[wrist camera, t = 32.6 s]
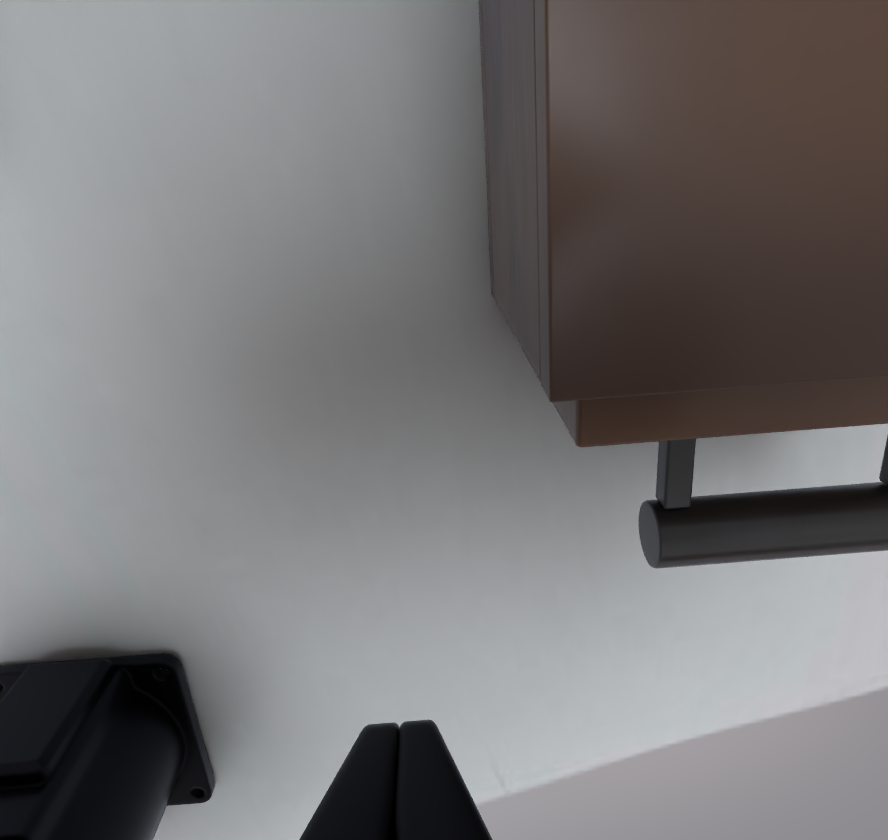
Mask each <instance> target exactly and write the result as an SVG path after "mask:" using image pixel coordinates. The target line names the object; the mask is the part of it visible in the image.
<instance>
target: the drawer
mask: <svg viewBox="0 0 888 840" xmlns="http://www.w3.org/2000/svg"><path fill="white" fill-rule="evenodd" d="M553 404H554V406H555V408H556V409H557V411H558V413H559V415H560V417H561V418H562V420H563V422H564V424H565V426H566V427H567V429H568V431H569V433H570V435H571V436H572V438H573V440H574V442H575V444H576V445H577V446H578V447H592V446H604V445H617V444H630V443H643V442H656V441H659V448H658V466H657V484H656V498H657V499H658V500H647V501H644V502H643V503H642V505H641V507H640V512H639V534H640V541H641V545H642V549H643V552H644V555H645V557H646V560H647V562H648V563H649V565H650V566H651V567H653V568H669V567H682V566H695V565H707V564H720V563H733V562H745V561H758V560H771V559H784V558H796V557H809V556H822V555H835V554H847V553H860V552H873V551H886V550H888V437H887V442H886V447H885V452H884V457H883V462H882V467H881V472H880V477H879V478H880V481H882V482H876V483H863V484H851V485H838V486H825V487H812V488H799V489H787V490H774V491H761V492H748V493H736V494H723V495H710V496H697V497H691V494H692V481H693V468H694V456H695V443H696V438H707V437H720V436H732V435H745V434H758V433H771V432H784V431H796V430H809V429H822V428H835V427H848V426H860V425H873V424H886V423H888V376H882V377H869V378H856V379H844V380H831V381H818V382H805V383H792V384H780V385H767V386H754V387H741V388H728V389H715V390H703V391H690V392H677V393H664V394H651V395H638V396H626V397H613V398H600V399H587V400H574V401H562V402H553Z"/></svg>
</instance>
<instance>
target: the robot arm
mask: <svg viewBox="0 0 888 840" xmlns="http://www.w3.org/2000/svg"><path fill="white" fill-rule="evenodd" d="M161 668H165V669H166V670H168V671H164V670H162V669H161ZM214 787H215V781H214V778H213V774H212V771H211V767H210V764H209V760H208V756H207V753H206V749H205V746H204V742H203V739H202V735H201V732H200V728H199V725H198V721H197V718H196V714H195V710H194V707H193V703H192V700H191V696H190V693H189V689H188V686H187V682H186V679H185V675H184V672H183V668H182V664H181V662H180V661H179V659H178V658H176V657H175V656H173V655H171V654H165V653H161V654H148V655H135V656H123V657H110V658H97V659H84V660H72V661H59V662H46V663H34V664H21V665H8V666H0V840H153V838H154V835H155V833H156V830H157V828H158V825H159V823H160V820H161V818H162V816H163V813H164V811H165V808H166V806H169V805H181V804H194V803H203V802H206V801H208V800H209V799H210V797H211V796H212V793H213V790H214ZM300 840H492V838H491V836H490V834H489V832H488V830H487V828H486V826H485V824H484V821H483V820H482V817H481V815H480V813H479V811H478V809H477V807H476V805H475V803H474V801H473V799H472V797H471V795H470V793H469V791H468V789H467V787H466V785H465V783H464V781H463V779H462V777H461V774H460V772H459V770H458V768H457V766H456V764H455V762H454V760H453V758H452V756H451V754H450V752H449V750H448V748H447V746H446V744H445V742H444V740H443V738H442V736H441V734H440V732H439V730H438V727H437V726H436V724H435V723H434V722H433V721H432V720H421V721H407V722H403V723H402V724H401V726H400V727H399V726H398V724H396V723H381V724H370V725H367V726H366V727H364V728H363V730H362V731H361V733H360V735H359V737H358V738H357V740H356V742H355V743H354V745H353V747H352V749H351V750H350V752H349V754H348V756H347V757H346V759H345V761H344V763H343V764H342V766H341V768H340V770H339V771H338V773H337V775H336V777H335V778H334V780H333V782H332V784H331V785H330V787H329V789H328V791H327V792H326V794H325V796H324V798H323V799H322V801H321V803H320V805H319V806H318V808H317V810H316V812H315V813H314V815H313V817H312V819H311V820H310V822H309V824H308V826H307V827H306V829H305V831H304V833H303V834H302V836H301V838H300Z"/></svg>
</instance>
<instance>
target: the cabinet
mask: <svg viewBox="0 0 888 840" xmlns="http://www.w3.org/2000/svg"><path fill="white" fill-rule="evenodd" d="M479 19H480V42H481V65H482V87H483V110H484V132H485V155H486V178H487V200H488V223H489V245H490V268H491V291H492V295H493V297H494V299H495V301H496V303H497V305H498V306H499V308H500V310H501V312H502V314H503V315H504V317H505V319H506V321H507V323H508V324H509V326H510V328H511V330H512V332H513V333H514V335H515V337H516V339H517V341H518V342H519V344H520V346H521V348H522V350H523V352H524V353H525V355H526V357H527V359H528V361H529V362H530V364H531V366H532V368H533V370H534V371H535V373H536V375H537V377H538V379H539V380H540V382H541V385H542V387H543V389H544V391H545V393H546V395H547V397H548V398H549V400H550V402H562V401H574V400H587V399H600V398H613V397H626V396H638V395H651V394H664V393H677V392H690V391H703V390H715V389H728V388H741V387H754V386H767V385H780V384H792V383H805V382H818V381H831V380H844V379H856V378H869V377H882V376H888V0H479Z"/></svg>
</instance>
